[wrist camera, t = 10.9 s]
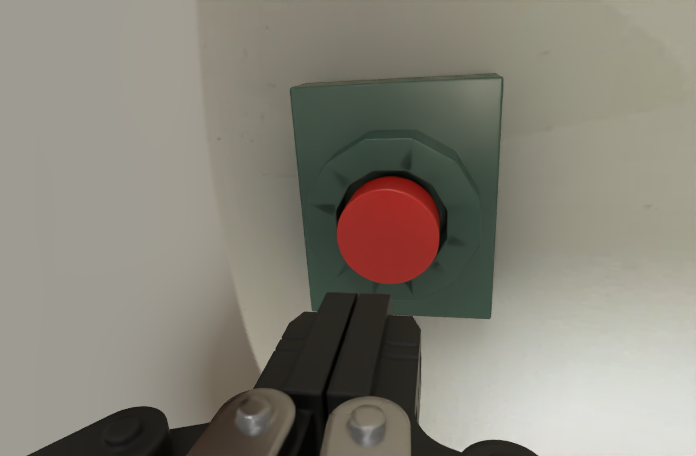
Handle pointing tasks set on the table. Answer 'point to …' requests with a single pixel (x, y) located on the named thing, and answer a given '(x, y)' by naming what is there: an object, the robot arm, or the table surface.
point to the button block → (411, 163)
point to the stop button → (389, 230)
